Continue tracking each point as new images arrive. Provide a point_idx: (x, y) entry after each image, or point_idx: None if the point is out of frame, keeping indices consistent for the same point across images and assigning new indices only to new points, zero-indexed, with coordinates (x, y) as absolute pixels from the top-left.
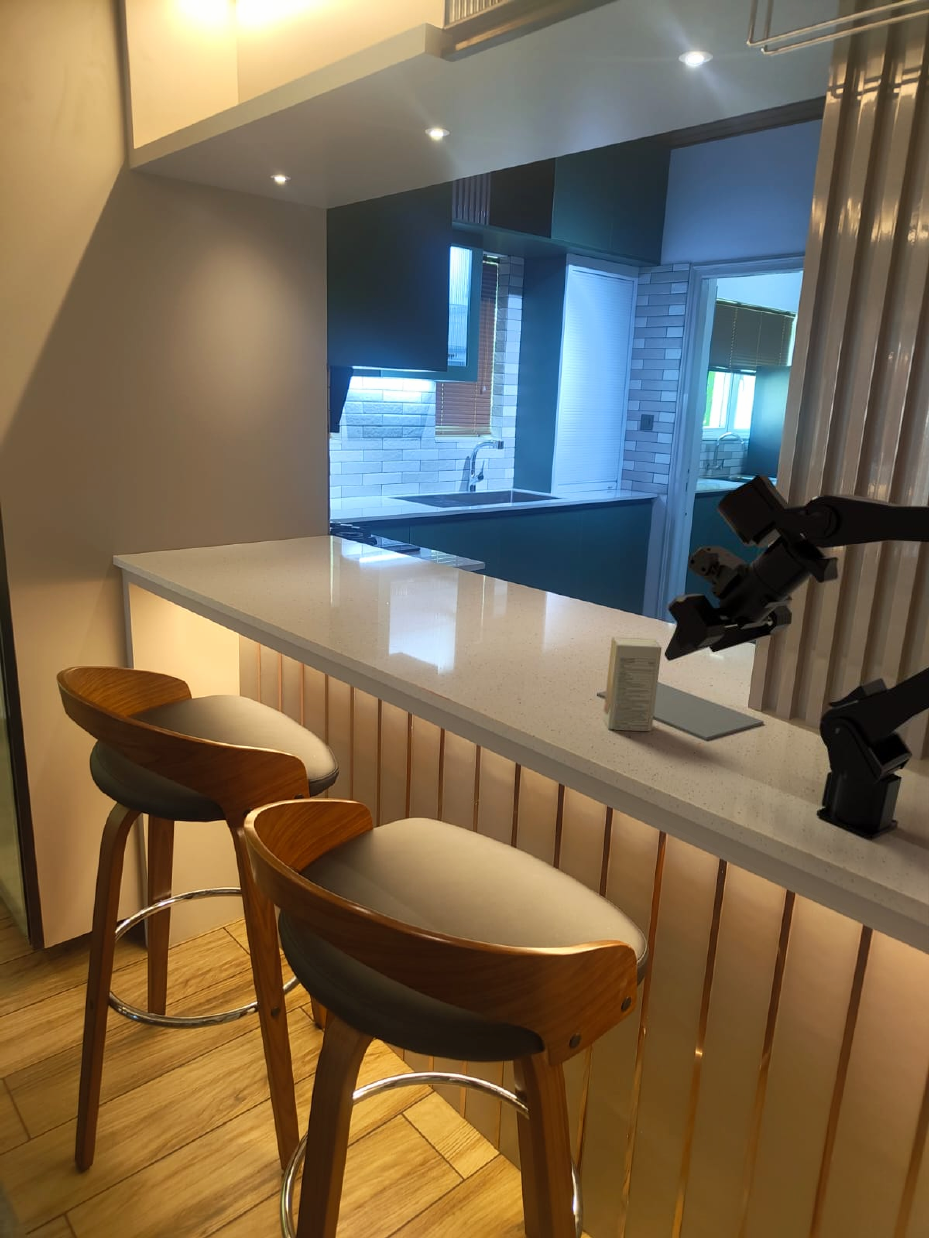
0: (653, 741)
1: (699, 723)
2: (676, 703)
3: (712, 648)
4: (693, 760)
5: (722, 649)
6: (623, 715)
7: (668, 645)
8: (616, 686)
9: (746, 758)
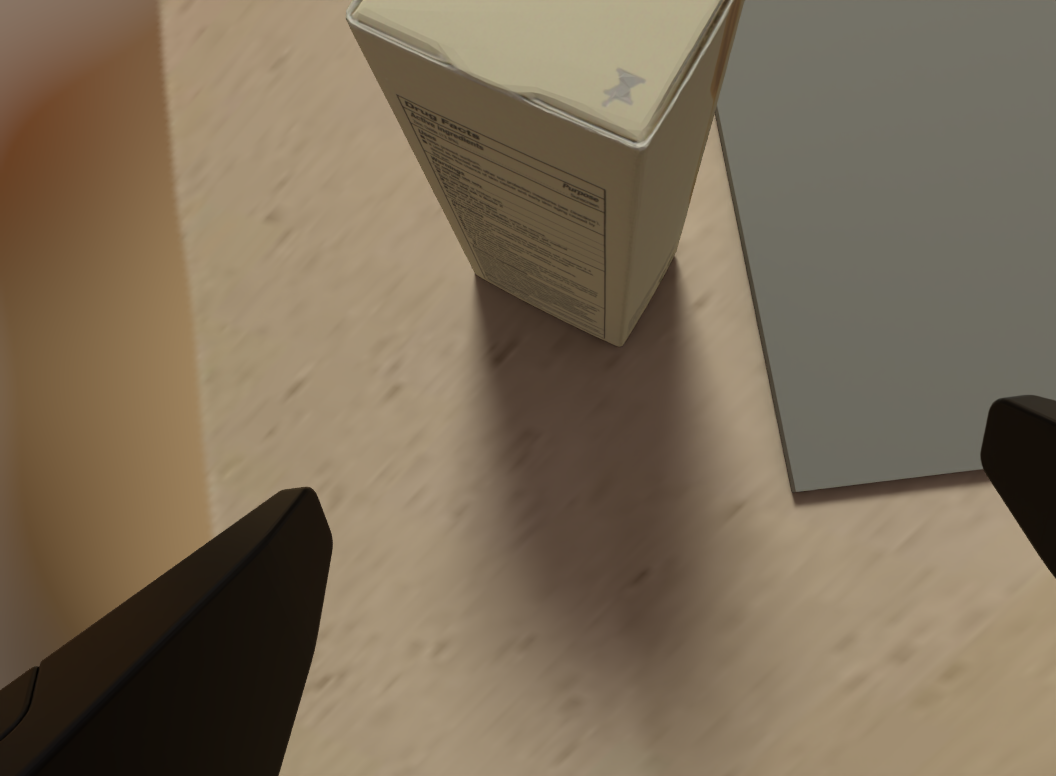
0: (560, 424)
1: (892, 355)
2: (963, 138)
3: (999, 449)
4: (575, 637)
5: (1053, 569)
6: (505, 275)
7: (189, 559)
8: (440, 192)
9: (827, 715)
